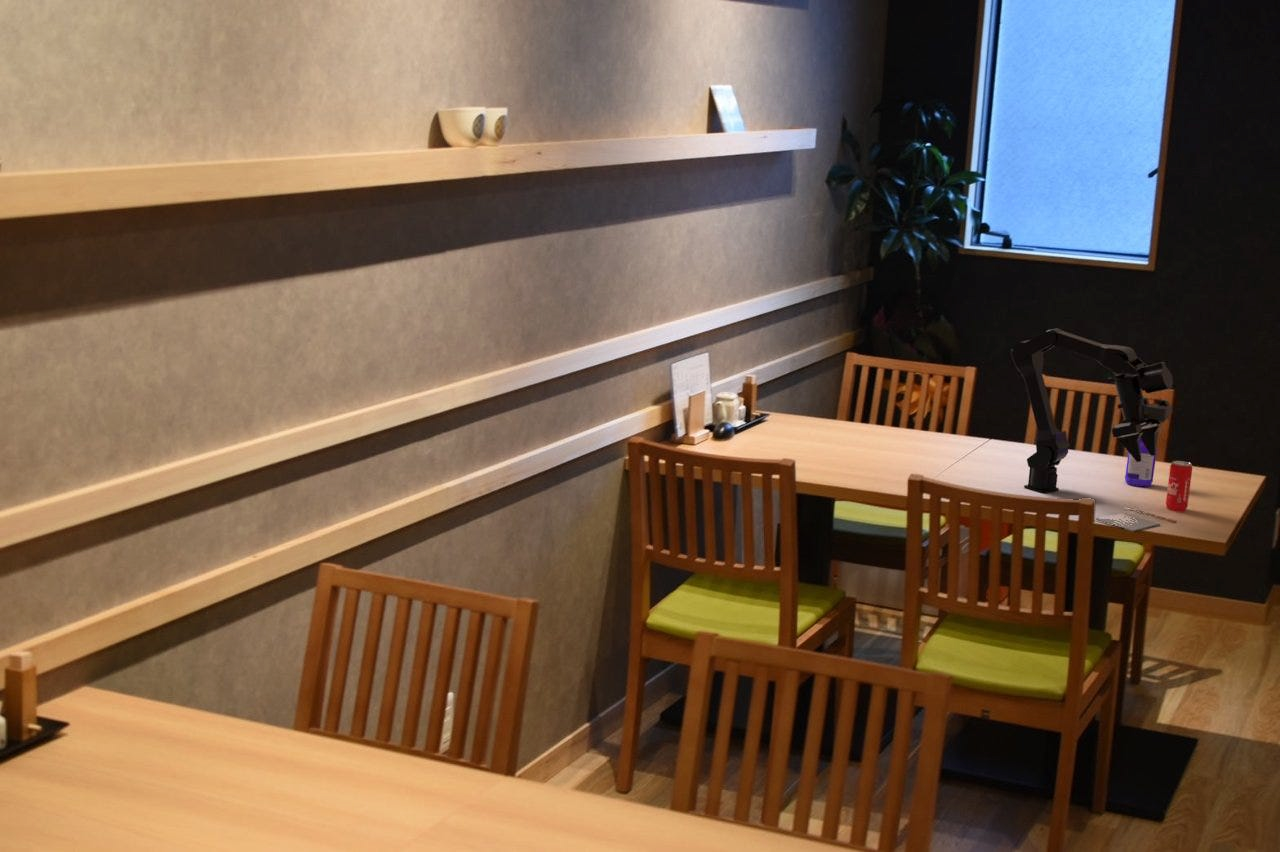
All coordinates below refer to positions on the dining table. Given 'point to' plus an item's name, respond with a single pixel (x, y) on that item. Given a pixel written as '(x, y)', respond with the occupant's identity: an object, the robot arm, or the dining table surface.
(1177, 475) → the beverage can
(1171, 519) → the line
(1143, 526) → the mat
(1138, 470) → the bottle
